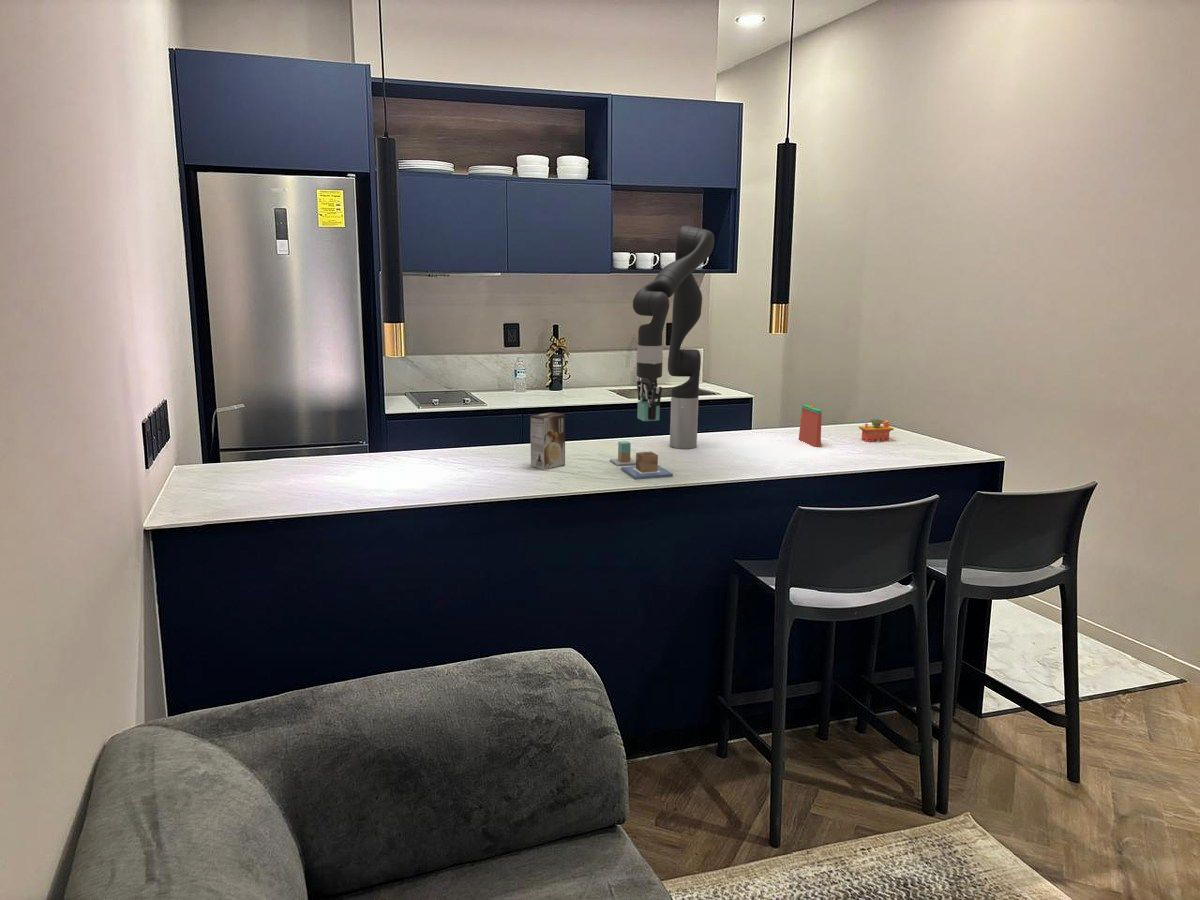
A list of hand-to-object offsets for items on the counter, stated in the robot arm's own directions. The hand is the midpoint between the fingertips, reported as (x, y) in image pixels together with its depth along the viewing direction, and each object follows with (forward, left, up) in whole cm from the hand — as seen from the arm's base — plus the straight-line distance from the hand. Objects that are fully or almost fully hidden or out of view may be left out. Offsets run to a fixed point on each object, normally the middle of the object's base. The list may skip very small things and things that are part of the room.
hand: (648, 417), depth 258 cm
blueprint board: (0, 0, -17) cm, 17 cm away
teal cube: (0, 0, 0) cm, 0 cm away
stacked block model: (-14, -2, -17) cm, 22 cm away
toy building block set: (-22, +87, -17) cm, 91 cm away
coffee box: (-17, -26, -17) cm, 36 cm away
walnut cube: (0, 0, -16) cm, 16 cm away
